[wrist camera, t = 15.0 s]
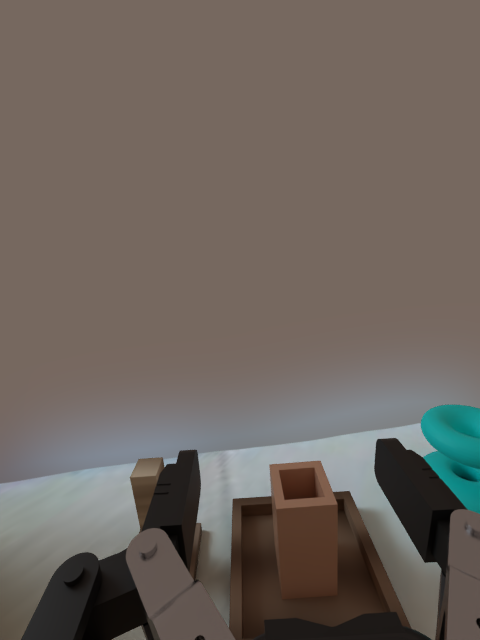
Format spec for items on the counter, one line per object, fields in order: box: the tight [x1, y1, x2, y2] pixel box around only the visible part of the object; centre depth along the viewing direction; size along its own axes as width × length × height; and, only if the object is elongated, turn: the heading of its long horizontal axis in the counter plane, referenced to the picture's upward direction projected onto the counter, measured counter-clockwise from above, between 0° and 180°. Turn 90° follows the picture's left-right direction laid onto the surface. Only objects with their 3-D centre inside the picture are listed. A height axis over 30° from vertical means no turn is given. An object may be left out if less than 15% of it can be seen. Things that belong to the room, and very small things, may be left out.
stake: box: [130, 457, 202, 581], centre depth 29 cm, size 7×7×12 cm
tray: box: [229, 491, 411, 640], centre depth 29 cm, size 14×14×2 cm
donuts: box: [421, 405, 480, 514], centre depth 35 cm, size 10×10×10 cm
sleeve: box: [269, 461, 338, 599], centre depth 27 cm, size 5×5×10 cm
